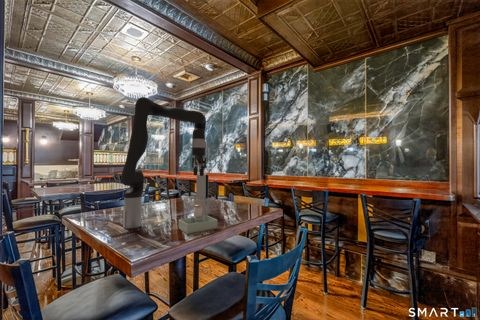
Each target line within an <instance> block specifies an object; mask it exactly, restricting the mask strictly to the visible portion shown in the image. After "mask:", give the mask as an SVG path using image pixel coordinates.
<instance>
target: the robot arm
mask: <svg viewBox="0 0 480 320" xmlns="http://www.w3.org/2000/svg"><path fill="white" fill-rule="evenodd" d="M149 116H153V117H154V116H155V117H164V118H168V119H171V120H175V121H180V122H182V123H186V122H189V123H193V124H194V129H193V130H192V142H191V155H192V156H193V157H191V168H192V169H193V171H192V172H193V174H192V175H193V176H197V174H198V168H199V174H200V176H204V174H205V169H206V168H207V157H205V156H206V126H207V118H206V117H205V114H203V113H202V112H201V111H199V110H188V109H186V108H181V107H174V106H167V105H166V106H165V105H161V104H159V103H157V102H155V101H154V100H151V99H150V98H148V97H145V96H141V97H139V98H138V99H136V102H135V106H134V116H133V124H132V130H131V133H130V134H131V135H130V138H129V139H130V140H129V142H128V143H129V144H128V150H127V154H126V159H125V163H124V166H123V169H122V172H121V176H120V180H121V183H122V184H123V185H124V186H126V187H129V188H128V189H127V190H126V191H125V192H124V195H123V211H122V212H123V213H122V227H123V229H125V230H126V229H128V230H129V229H136V228H140V227H141V226H142V201H143V200H142V195H143V192H144V183H145V176H144V173H143V171H142V170H141V169H137V164H138V162H139V161H140V160H141V157H142V156H143V155H144V154H145V152H146V150H147V146H148V141H149V131H148V118H149Z"/></svg>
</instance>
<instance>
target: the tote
mask: <svg viewBox="0 0 480 320" xmlns="http://www.w3.org/2000/svg"><path fill="white" fill-rule="evenodd" d="M204 217H205V222H198V223H192V224H191V217H187V218H180V219H178V229H179V230H180V231H182V232H184V233H185V234H186V235H190V234H196V233H197V234H198V233H201V232H206V231H211V230H212V231H213V230H217V229H218V224H219V223H218V219H217V218H214V217H212V216H210V215H206V216H204Z"/></svg>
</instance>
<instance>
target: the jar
mask: <svg viewBox="0 0 480 320" xmlns="http://www.w3.org/2000/svg"><path fill="white" fill-rule="evenodd" d="M202 206H203V205H201V204H197V205H195V204H194V205H193V216H194V217H195V218H200V217H202Z"/></svg>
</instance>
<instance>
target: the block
mask: <svg viewBox="0 0 480 320" xmlns="http://www.w3.org/2000/svg"><path fill="white" fill-rule="evenodd" d="M190 218H191V224H192V223H198V222H205V217H204V216H202V217H200V218H195V217H194V215H191V216H190Z"/></svg>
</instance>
